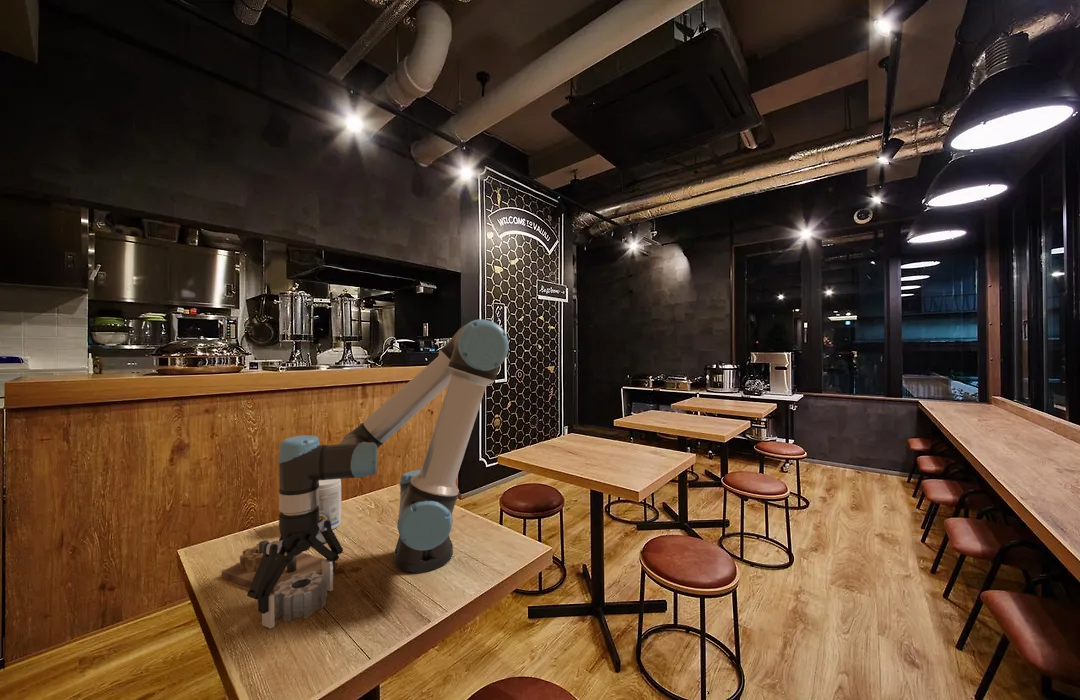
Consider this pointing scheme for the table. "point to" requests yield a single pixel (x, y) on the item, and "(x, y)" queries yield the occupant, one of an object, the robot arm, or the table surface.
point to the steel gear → (300, 596)
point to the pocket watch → (326, 517)
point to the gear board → (300, 565)
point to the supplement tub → (331, 500)
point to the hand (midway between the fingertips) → (299, 606)
